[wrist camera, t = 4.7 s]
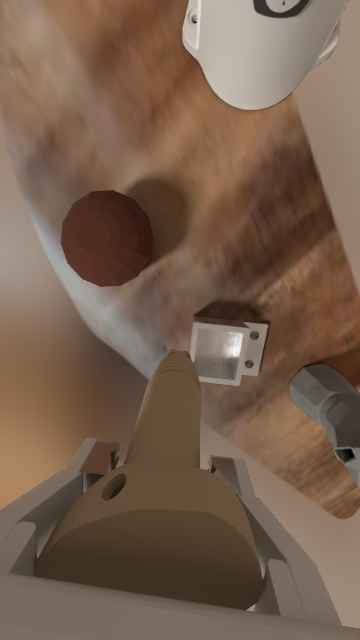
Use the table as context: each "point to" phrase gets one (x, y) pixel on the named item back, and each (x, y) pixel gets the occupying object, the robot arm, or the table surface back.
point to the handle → (160, 512)
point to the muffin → (106, 238)
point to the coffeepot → (331, 410)
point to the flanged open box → (226, 349)
